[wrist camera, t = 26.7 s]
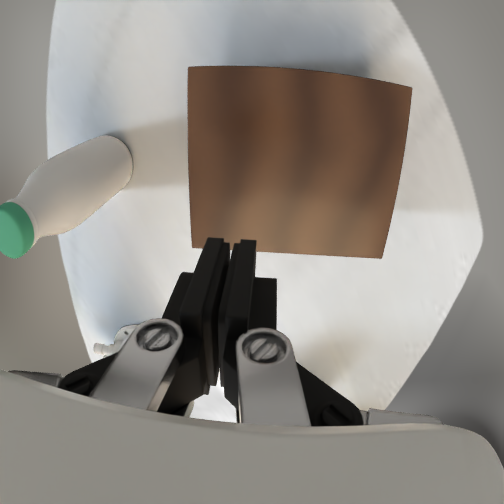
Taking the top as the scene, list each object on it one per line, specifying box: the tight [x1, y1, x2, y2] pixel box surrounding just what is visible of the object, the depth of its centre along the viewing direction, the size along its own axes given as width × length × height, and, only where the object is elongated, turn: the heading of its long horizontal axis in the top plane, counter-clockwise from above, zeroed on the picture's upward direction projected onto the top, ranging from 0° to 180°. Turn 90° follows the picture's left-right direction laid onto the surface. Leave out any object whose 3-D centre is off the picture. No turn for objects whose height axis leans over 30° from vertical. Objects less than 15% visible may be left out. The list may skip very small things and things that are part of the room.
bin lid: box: [188, 66, 412, 259], centre depth 25 cm, size 17×16×1 cm
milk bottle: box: [0, 135, 133, 258], centre depth 28 cm, size 8×8×20 cm
